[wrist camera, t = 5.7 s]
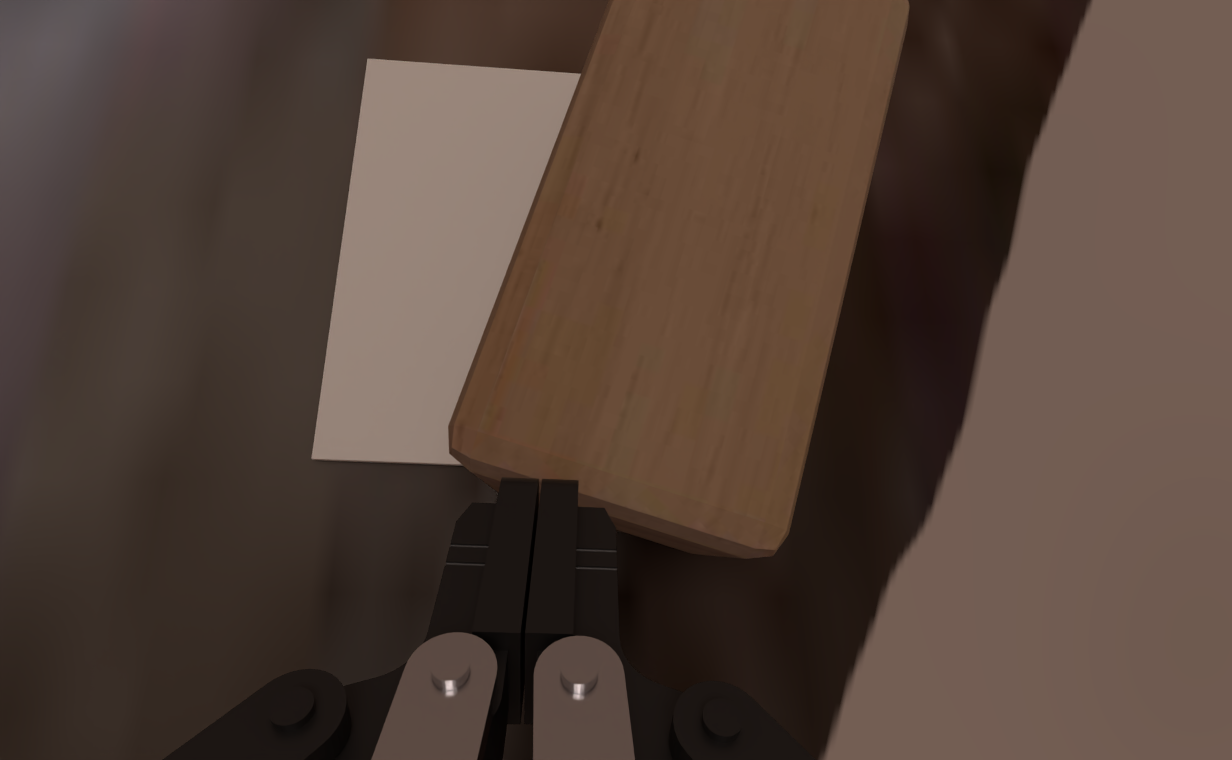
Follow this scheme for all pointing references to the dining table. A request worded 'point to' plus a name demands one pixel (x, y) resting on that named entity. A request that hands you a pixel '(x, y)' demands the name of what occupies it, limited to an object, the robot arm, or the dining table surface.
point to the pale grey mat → (428, 247)
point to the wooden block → (687, 267)
